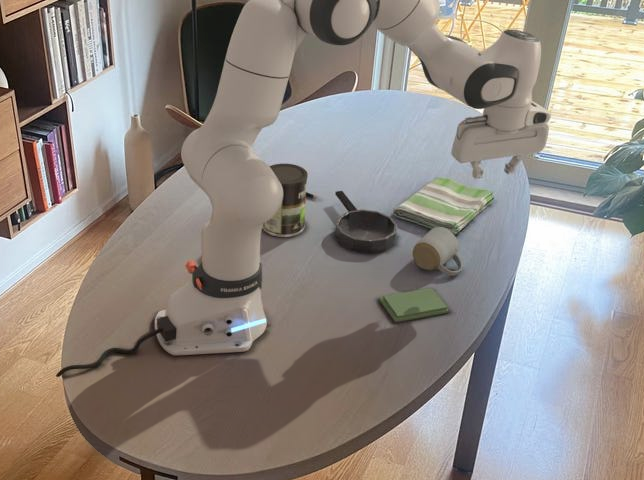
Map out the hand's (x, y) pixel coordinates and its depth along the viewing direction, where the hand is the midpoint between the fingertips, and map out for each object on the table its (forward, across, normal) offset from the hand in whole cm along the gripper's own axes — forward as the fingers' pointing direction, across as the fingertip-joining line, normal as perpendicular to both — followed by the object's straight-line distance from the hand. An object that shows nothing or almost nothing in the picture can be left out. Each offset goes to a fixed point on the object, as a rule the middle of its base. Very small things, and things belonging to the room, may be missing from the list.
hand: (493, 174), depth 173 cm
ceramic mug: (+21, -10, 0) cm, 23 cm away
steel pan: (+21, -21, +21) cm, 36 cm away
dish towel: (+21, +4, +23) cm, 31 cm away
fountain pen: (+22, -29, +40) cm, 54 cm away
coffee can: (+21, -38, +26) cm, 50 cm away
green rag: (+21, -22, -12) cm, 33 cm away
